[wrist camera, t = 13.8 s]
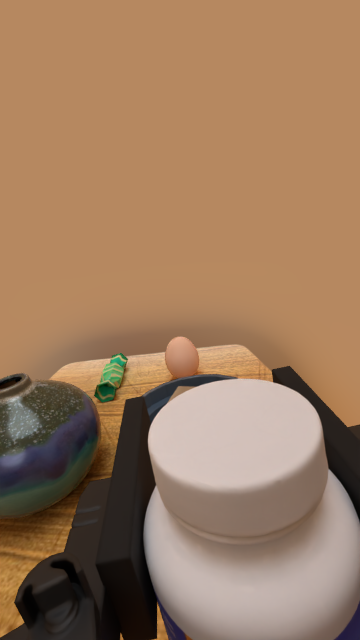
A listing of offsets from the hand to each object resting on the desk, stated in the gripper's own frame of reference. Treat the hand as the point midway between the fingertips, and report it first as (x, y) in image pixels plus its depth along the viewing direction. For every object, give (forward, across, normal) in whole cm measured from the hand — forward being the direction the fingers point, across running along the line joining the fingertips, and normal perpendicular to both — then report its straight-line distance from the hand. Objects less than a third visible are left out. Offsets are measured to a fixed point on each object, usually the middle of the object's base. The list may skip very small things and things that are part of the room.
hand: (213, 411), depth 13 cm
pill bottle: (-5, 0, -7) cm, 8 cm away
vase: (+19, -19, -18) cm, 33 cm away
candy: (+41, -14, -18) cm, 47 cm away
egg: (+38, -1, -18) cm, 42 cm away
